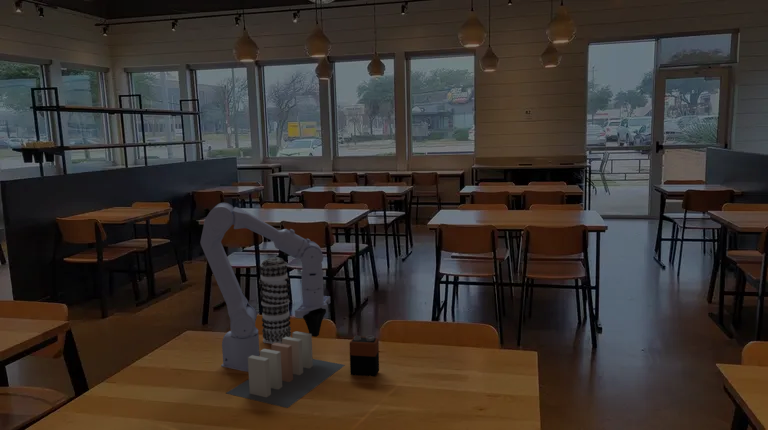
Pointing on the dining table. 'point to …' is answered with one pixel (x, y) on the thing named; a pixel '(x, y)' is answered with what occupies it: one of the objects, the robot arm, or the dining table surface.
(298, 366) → the domino
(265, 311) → the decorative candle
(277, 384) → the domino
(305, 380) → the mat
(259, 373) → the domino
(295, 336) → the domino
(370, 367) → the battery
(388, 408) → the dining table surface
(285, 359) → the domino
